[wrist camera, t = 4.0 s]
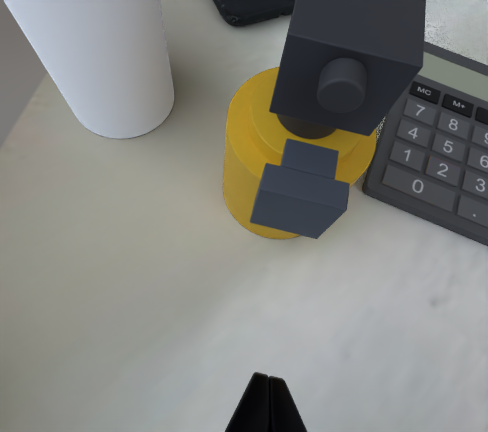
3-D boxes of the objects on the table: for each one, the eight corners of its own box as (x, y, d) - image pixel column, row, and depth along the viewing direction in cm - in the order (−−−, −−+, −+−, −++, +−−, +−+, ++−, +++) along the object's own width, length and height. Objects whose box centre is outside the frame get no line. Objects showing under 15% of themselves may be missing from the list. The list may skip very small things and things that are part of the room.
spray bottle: (320, 254, 21) (502, 112, 8) (209, 226, 21) (201, 38, 8) (335, 155, 23) (488, -76, 10) (236, 131, 23) (265, -132, 10)
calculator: (367, 186, 21) (416, 35, 27) (361, 192, 22) (409, 44, 28) (541, 259, 21) (556, 89, 26) (527, 262, 22) (545, 97, 27)
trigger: (316, 239, 13) (347, 210, 10) (249, 222, 13) (259, 189, 10) (324, 193, 14) (354, 153, 11) (260, 177, 14) (272, 133, 11)
